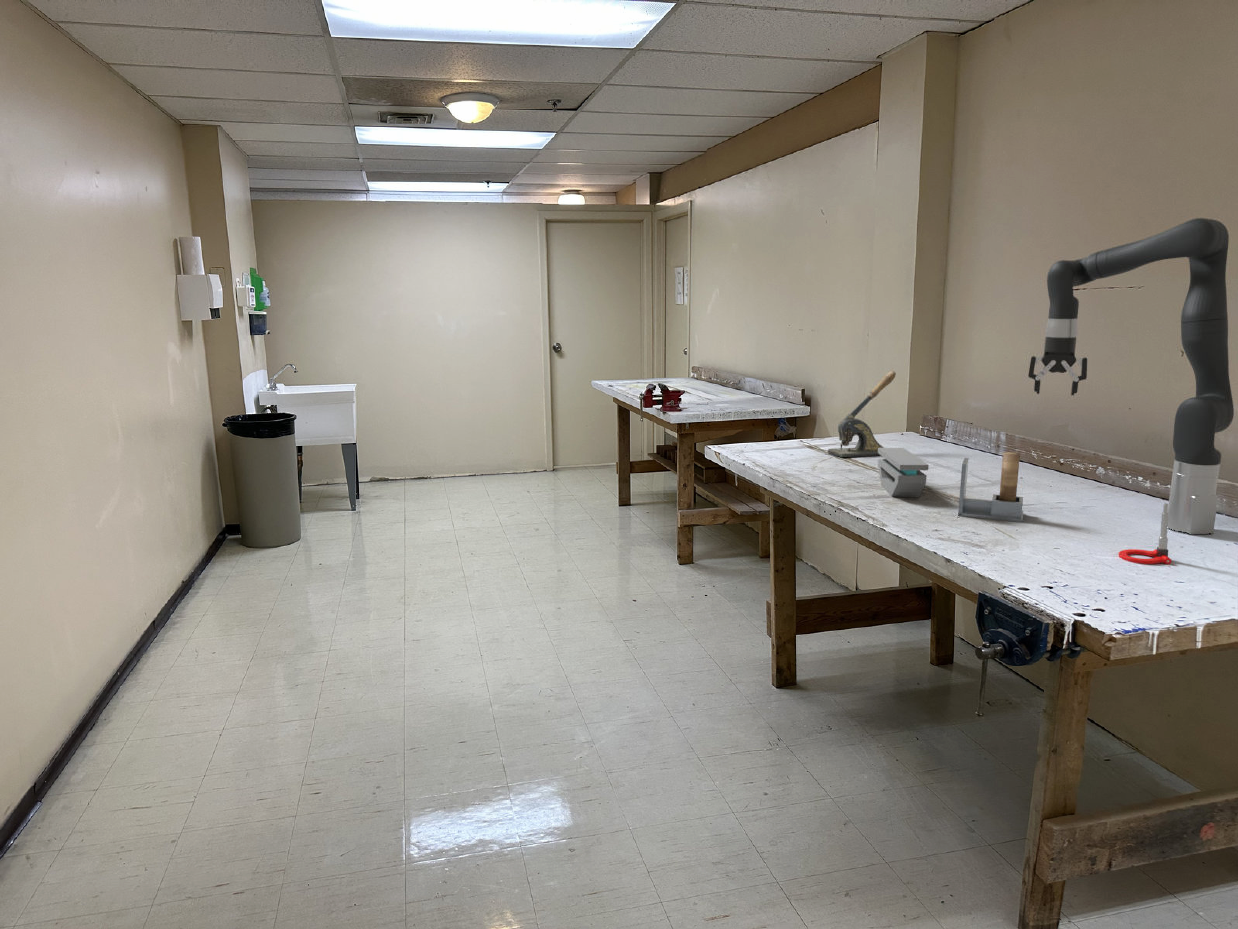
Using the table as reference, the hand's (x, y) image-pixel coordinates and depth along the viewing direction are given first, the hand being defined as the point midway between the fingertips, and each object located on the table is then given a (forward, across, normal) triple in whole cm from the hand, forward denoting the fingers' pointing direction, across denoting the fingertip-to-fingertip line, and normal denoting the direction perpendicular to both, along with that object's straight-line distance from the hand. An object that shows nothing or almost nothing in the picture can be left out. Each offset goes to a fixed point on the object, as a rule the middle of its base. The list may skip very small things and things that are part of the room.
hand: (1055, 394), depth 229 cm
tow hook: (+30, +19, -49) cm, 61 cm away
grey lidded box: (+30, -39, -7) cm, 50 cm away
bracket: (+30, -13, -24) cm, 41 cm away
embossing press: (+30, -59, +46) cm, 80 cm away
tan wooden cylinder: (+29, -9, -24) cm, 39 cm away
